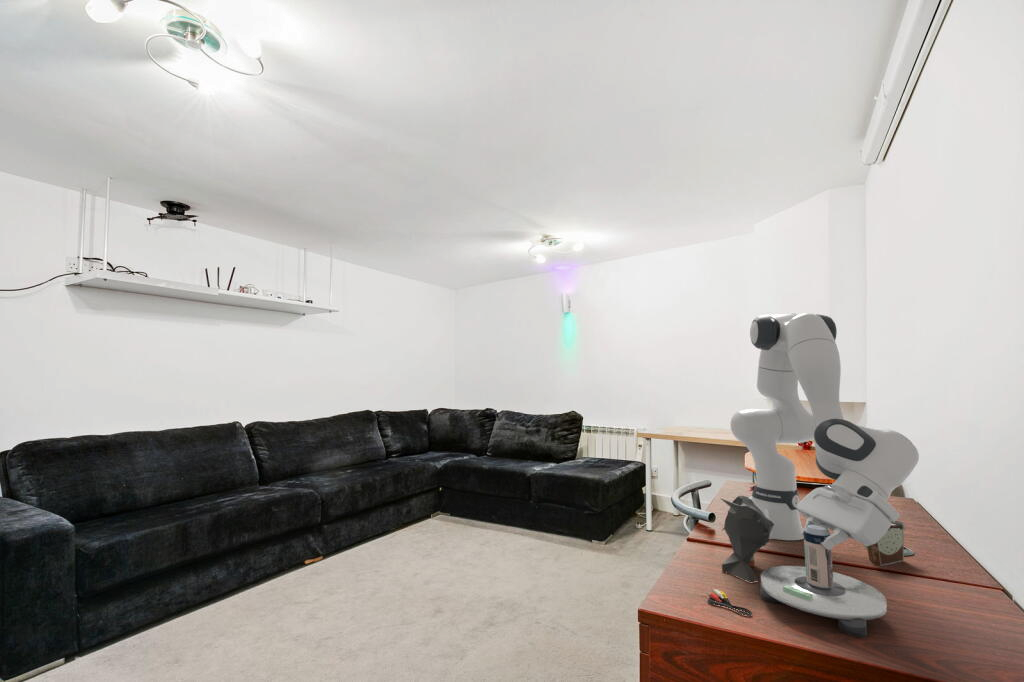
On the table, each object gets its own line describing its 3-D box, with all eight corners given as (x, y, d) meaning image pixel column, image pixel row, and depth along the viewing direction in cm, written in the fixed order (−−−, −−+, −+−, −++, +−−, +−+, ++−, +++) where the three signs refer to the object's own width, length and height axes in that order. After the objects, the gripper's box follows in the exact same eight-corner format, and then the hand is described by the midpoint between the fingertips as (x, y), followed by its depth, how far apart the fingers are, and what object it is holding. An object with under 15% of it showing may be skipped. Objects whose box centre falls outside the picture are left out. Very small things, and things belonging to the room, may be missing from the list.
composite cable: (755, 617, 95) (755, 605, 95) (738, 622, 93) (738, 609, 93) (717, 597, 104) (717, 585, 104) (701, 601, 102) (700, 589, 102)
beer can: (838, 591, 95) (834, 531, 96) (812, 589, 96) (808, 529, 97) (827, 581, 100) (823, 524, 101) (802, 579, 101) (799, 522, 102)
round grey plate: (740, 600, 101) (739, 573, 102) (795, 578, 113) (794, 554, 113) (855, 649, 83) (853, 617, 83) (908, 617, 94) (906, 589, 94)
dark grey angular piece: (792, 572, 116) (789, 499, 117) (751, 584, 109) (748, 506, 111) (742, 553, 129) (740, 487, 130) (702, 562, 122) (700, 492, 124)
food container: (882, 552, 130) (879, 515, 131) (907, 560, 124) (904, 521, 125) (852, 558, 125) (849, 520, 126) (877, 566, 120) (874, 526, 120)
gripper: (813, 474, 110) (775, 517, 109) (883, 495, 90) (836, 547, 89) (833, 493, 110) (794, 536, 109) (908, 518, 90) (861, 571, 88)
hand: (814, 541), depth 99 cm, fingers closed on beer can, 5 cm apart
